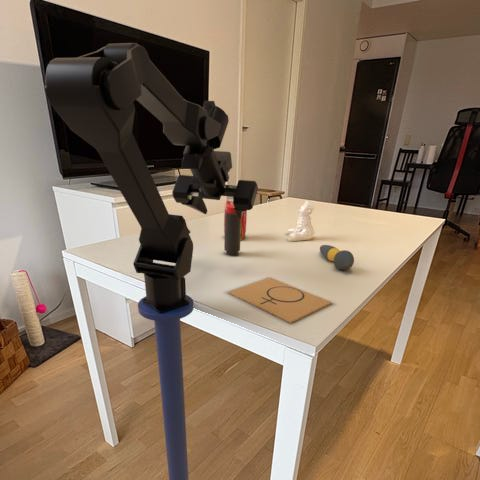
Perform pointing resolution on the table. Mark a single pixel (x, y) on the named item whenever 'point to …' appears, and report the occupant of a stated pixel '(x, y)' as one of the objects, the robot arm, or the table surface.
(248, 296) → the sketch card
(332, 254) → the grey yellow maraca
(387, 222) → the table surface
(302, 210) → the white creature statuette
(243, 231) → the soda can
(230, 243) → the cylinder
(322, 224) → the table surface
